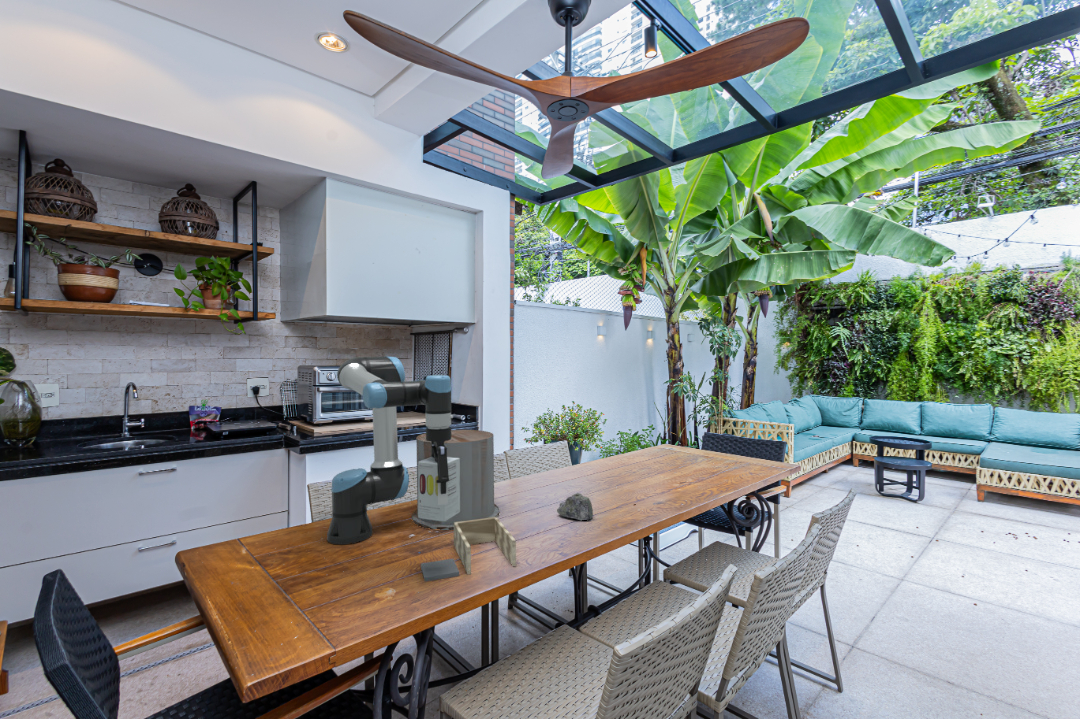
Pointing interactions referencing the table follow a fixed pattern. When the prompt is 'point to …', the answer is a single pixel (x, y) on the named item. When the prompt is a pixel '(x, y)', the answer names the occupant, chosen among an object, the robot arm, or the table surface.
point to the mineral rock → (576, 507)
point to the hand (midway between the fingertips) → (439, 497)
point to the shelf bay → (482, 538)
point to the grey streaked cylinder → (465, 476)
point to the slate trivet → (439, 569)
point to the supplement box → (429, 490)
